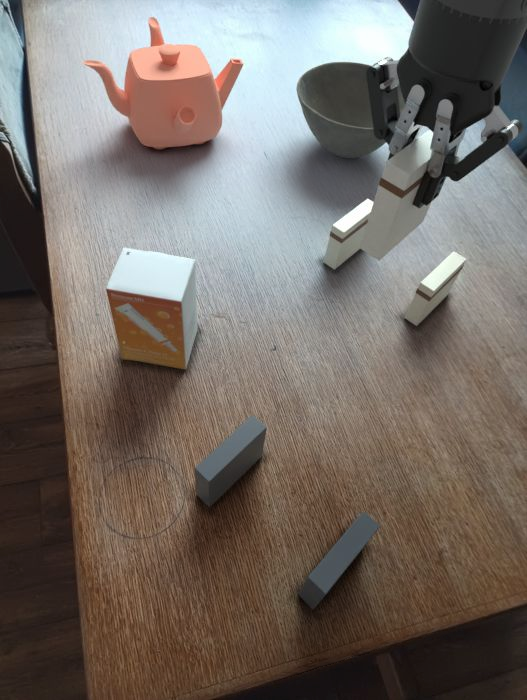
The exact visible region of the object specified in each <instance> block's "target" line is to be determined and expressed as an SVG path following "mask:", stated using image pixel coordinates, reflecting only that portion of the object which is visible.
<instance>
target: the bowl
mask: <svg viewBox="0 0 527 700" xmlns="http://www.w3.org/2000/svg"><path fill="white" fill-rule="evenodd" d="M371 66H372V65H370V64H365V63H362V62H360V63H359V62H352V61H332V62H331V61H330V62H325V63H323V64H319V65H317V66H313V67H312V68H310V69H308V70H307V71H306V72H304V73H303V74H302V75H301V76H300V77H299V79H298V81H297V83H296V95H297V98H298V102H299V105H300V107H301V111H302V114H303V117H304V119H305V122H306V124H307V126H308V128H309V130H310V131H311V133H312V135H313V136H314V138H315V140H316V142H318V143H319V145H321V146H322V147H323V148H324V149H325V150H327V152H329V153H331V154H332V155H335V156H338V157H341V158H344V159H345V158H346V159H355V158H359V157H363V156H367V155H369V154H371V153H373V152H375V151H377V150H379V149H380V148H381V147H383V146H384V145H385V144H387V142H386V141H385V140H384V139H383V140H379V139H377V138H376V137H375V135H374V129H373V122H372V114H371V107H370V100H369V92H368V85H367V77H366V71H367V69H368V68H369V67H371ZM397 89H398V99H399V108H400V115H401V113H402V111H403V109H404V106H405V104H404V99H403V95H402V91H401V87H400V83H399V84H398V86H397Z"/></svg>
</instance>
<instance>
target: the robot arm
mask: <svg viewBox="0 0 527 700" xmlns="http://www.w3.org/2000/svg"><path fill="white" fill-rule="evenodd" d="M526 30H527V0H419V3H418V7H417V10H416V13H415V17H414V21H413V24H412V28H411V31H410V35H409V37H408V41H407V42H408V43H407V45H408V47H407V50H406V51H405V52H404V54H402V56H401V57H399V59H397V60H396V59H395V60H394V59H393V58H392V57H390V56H386V57H385V58H383V59H380V60H379V61H377V62H375V63H373V64H372V65H370V66H371V67H369V68H368V69H367V71H366V77H367V85H368V92H369V100H370V107H371V114H372V122H373V129H374V135H375V137H376V138H377V139H379V140H383V139H384V140H385V141H386V144H387V145H388V152H389V153H388V157H387V160H386V161H388V160H389V159H390V158H392V157H393V156H394V155H396V154H397V153H398V152H400V151H401V150H402V149H404V148H405V147H407V146H408V145H409V144H411V143H412V142H413V141H415V140H416V139H417V138H418V136H419V134H420V132H421V130H422V129H423V127H426V128H427V129H428V130H429V129H430V130H431V131H432V132H433V137H432V141H431V146H430V150H432V153H431V157H430V161H429V166H428V170H427V171H426V172H425V173H424V175H423V179H422V181H421V183H420V185H419V188H418V191H417V193H416V196H415V199H414V201H413V205H414V206H416V207H417V208H421V207H422V206H423V205H426V206H427V205H428V204H429V203H431V204H432V202H433V201H434V200H435V199H436V198H438V197H439V195H440V193H441V191H442V189H443V186H444V185H445V181H446V179H447V178H449V179H450V180H451V181H453V182H459V181H461V180H462V179H463V178H465V177H466V176H468V175H469V174H470V173H471V172H473V171H474V170H476V169H478V167H480V166H481V165H483V164H484V163H485V162H486V161H488V160H489V159H490V158H492V157H493V156H495V155H496V154H497V153H498V152H500V151H501V150H503V149H504V148H505V147H507V145H509V144H510V143H511V142H513V140H514V139H516V138H517V137H518V136H519V135H520V134H522V133H523V129H524V126H523V123H522V122H521V121H520V120H519V119H512V120H510V119H509V118H508V116H507V115H506V114H505V112H504V111H503V110H502V108H501V107H500V104H501V102H502V86H503V82H504V79H505V76H506V74H507V73H508V70H509V68H510V66H511V63H512V61H513V59H514V57H515V55H516V53H517V50H518V49H519V46H520V44H521V42H522V39H523V37H524V35H525V33H526ZM399 83H400V87H401V91H402V95H403V99H404V104H405V106H404V109H403V111H402V113H401V115H400V108H399V99H398V89H397V86H398V84H399ZM482 120H484V121H485V126H484V128H483V129H482V130H481V133H480V142H481V143H480V144H479V145H478V146H477V147H475V148H474V149H473V150H471V151H470V152H469V153H468V154H466V155H465V156H458V151H459V148H460V145H461V143H462V141H463V140H464V139H465V138H464V137H465V136H466V131H467V129H468V128H470V127H471V126H473V125H475V124H476V123H478V122H480V121H482Z"/></svg>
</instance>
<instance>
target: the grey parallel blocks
mask: <svg viewBox="0 0 527 700" xmlns="http://www.w3.org/2000/svg"><path fill="white" fill-rule="evenodd" d="M267 429H268V427H267V425H265V424H264V423H263V422H261V421H260V420H259V419H258V418H257V417H256V416H255V415H253V414H252V415H250V417H248V418H247V420H245V421H244V422H243V423H241V425H240V426H238V428H237V429H236V430H234V431H233V432H232V433H231V434H230V435H229V436H228V437H227V438H226V439H224V440H223V441H222V442H221V443H220V444H219V445H218V446H217V447H216V448H215V449H213V450H212V451H211V452H210V453H209V454H208V455H207V456H206V457H205V458H203V459H202V460H201V461H200V462H198V464H197V465H196V466H195V467H194V480H195V494H196V496H197V497H198V498H199V499H200V500H201V501H202V502H203V503H204V504H205V505H206V506H207V507H208V508H211V507H212V506H213V505H214V504H215V503H216V502H217V501H218V500H219V499H220V498H221V497H222V496H223V495H224V494H225V493H226V492H228V490H229V489H231V487H232V486H233V485H234V484H236V482H238V480H240V478H242V477H243V476H244V474H246V472H248V471H249V470H250V469H251V468H252V467H253V466H254V465H255V464H256V463H257V462H258V461H259V460H260V459H261V458H262V456H263V452H264V446H265V441H266V435H267ZM380 528H381V525H380V524H379V523H378V522H377V521H376V520H374V518H372V517H371V516H370V515H369V514H368V513H366V511H364V510H363V511H361V513H360V514H359V515H358V516H357V517H356V518H355V520H354V521H353V522H352V523H351V525H350V526H348V528H347V530H345V532H344V533H342V535H341V536H340V537H339V538H338V540H337V541H336V542H335V544H334V545H333V546H332V547H331V548H330V549H329V551H328V552H327V553H326V554H325V556H324V557H323V558H322V559H321V561H320V562H319V563H318V564H317V565H316V566H315V568H314V569H313V570H312V571H311V573H309V575H308V576H307V578H306V579H305V580H304V583H303V584H302V586H301V588H300V589H299V591H298V592H297V595H298V597H300V598H301V599H302V600H303V601H304V602H305V603H306V604H307V605H308V606H309V607H310V608H311V609H312V610H315V609H316V608H317V606H318V605H319V604H320V602H321V601H322V600H323V599H324V598H325V597H326V596H327V594H328V593H329V592H330V591H331V589H332V588H333V586H334V585H335V584H336V583H337V582H338V580H339V579H340V578H341V576H343V574H344V573H345V572H346V571H347V569H348V567H350V565H351V564H352V563H353V562H354V561H355V559H356V558H357V557H358V555H359V554H360V553H361V552H362V550H363V549H364V548H365V546H366V545H367V544H368V543H369V541H370V540H371V539H372V538H373V536H374V535H375V534H376V533H377V531H379V530H380Z"/></svg>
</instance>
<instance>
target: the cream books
mask: <svg viewBox="0 0 527 700" xmlns="http://www.w3.org/2000/svg"><path fill="white" fill-rule="evenodd" d="M373 203H374V200H371V199H369V198H366V199H365V200H364V201H362V202H361V203H360V204H359V205H357V206H355V207H354V208H353V209H352V210H350V211H348V213H346V214H345V215H344V216H342V217H341V218H340V219H339V220H336V222H335V223H333V224H332V225H331V229H330V232H329V238H328V242H327V246H326V251H325V254H324V259H323V263H324V264H325V265H327V266H328V267H330V268H331V269H332V270H336V269H337V268H338V267H340V266H341V265H342V264H343V263H345V262H346V261H347V260H348V259H350V258H351V257H352V256H353V255H354V254H356V253H357V252H358V251H360V250H361V249H360V245H361V242H362V239H363V235H364V232H365V229H366V226H367V222H368V219H369V216H370V213H371V209H372V206H373ZM466 262H467V258H465V257H464V256H462V255H460V254H459V253H457V252H456V251H452V252H451V253H450V254H449V255H448V256H447V257H446V258H445V259H444V260H442V261H441V262H440V263H439V264H438V265H437V266H436V267H435V268H434V269H433V270H432V271H431V272H430V273H429V274H428V275H427V276H426V277H425V278H424V279H422V280H421V281H420V282H419V284H418V286H417V288H416V290H415V294H414V296H413V298H412V300H411V302H410V304H409V307H408V309H407V311H406V314H405V315H404V317H403V318H404V319H406V320H407V321H408V322H410V323H411V324H412V325H414V326H416V327H418V326H419V325H420V324H421V323H422V322H423V321H424V320H425V318H427V317H428V315H430V314H431V313H432V311H433V310H435V309H436V307H438V305H439V304H441V302H442V301H443V300H444V299H445V298H446V297H447V296H448V295H449V293H450V291H451V289H452V288H453V286H454V284H455V282H456V280H457V279H458V277H459V275H460V273H461V271H462V270H463V268H464V266H465V264H466Z"/></svg>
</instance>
